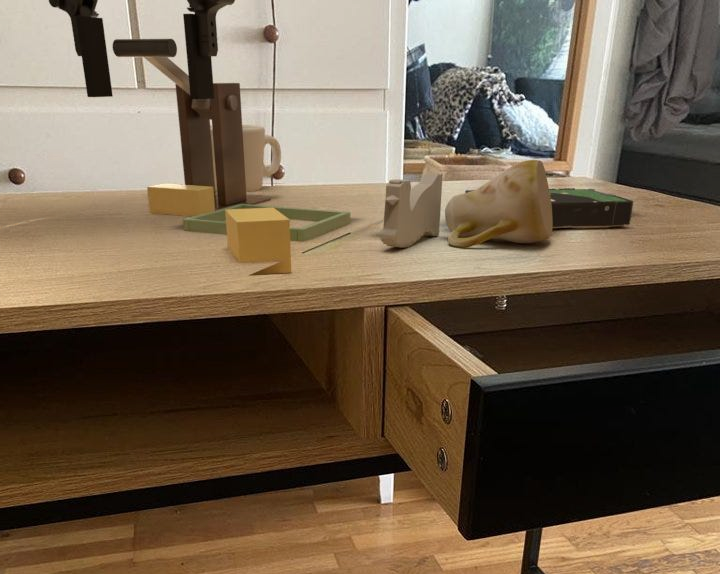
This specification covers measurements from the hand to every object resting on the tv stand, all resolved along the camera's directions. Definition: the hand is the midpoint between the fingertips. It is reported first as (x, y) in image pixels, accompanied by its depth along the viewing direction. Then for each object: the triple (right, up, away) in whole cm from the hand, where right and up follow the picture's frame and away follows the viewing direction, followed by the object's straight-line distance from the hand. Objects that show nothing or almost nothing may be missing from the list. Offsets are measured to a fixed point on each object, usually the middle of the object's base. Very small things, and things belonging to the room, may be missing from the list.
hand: (150, 98), depth 71 cm
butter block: (+1, -9, +8) cm, 12 cm away
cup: (+5, 0, +26) cm, 26 cm away
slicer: (+4, -6, +14) cm, 15 cm away
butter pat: (+11, -18, -9) cm, 23 cm away
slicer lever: (+2, +3, +4) cm, 5 cm away
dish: (+11, -13, +1) cm, 17 cm away
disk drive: (+39, -8, +10) cm, 41 cm away
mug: (+32, -13, 0) cm, 35 cm away
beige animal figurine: (+24, -14, 0) cm, 28 cm away
